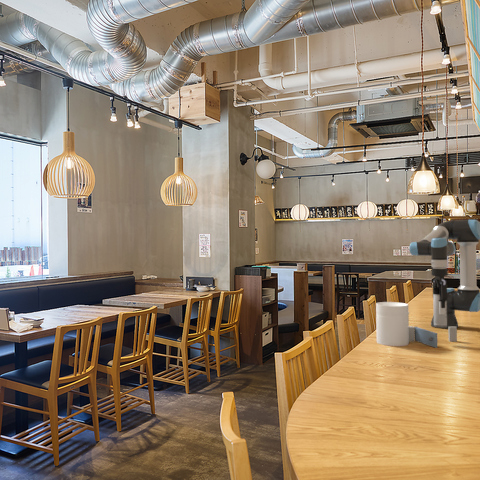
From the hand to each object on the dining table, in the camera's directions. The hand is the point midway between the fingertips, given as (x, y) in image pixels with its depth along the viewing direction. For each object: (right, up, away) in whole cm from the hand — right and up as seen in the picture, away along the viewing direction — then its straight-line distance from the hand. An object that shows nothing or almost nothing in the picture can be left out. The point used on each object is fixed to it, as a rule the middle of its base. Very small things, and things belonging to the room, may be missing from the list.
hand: (440, 313), depth 227 cm
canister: (-23, -16, +4) cm, 28 cm away
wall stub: (+9, -16, +5) cm, 19 cm away
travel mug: (0, -7, 0) cm, 7 cm away
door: (-8, -15, -1) cm, 18 cm away
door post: (-12, -16, +7) cm, 21 cm away
